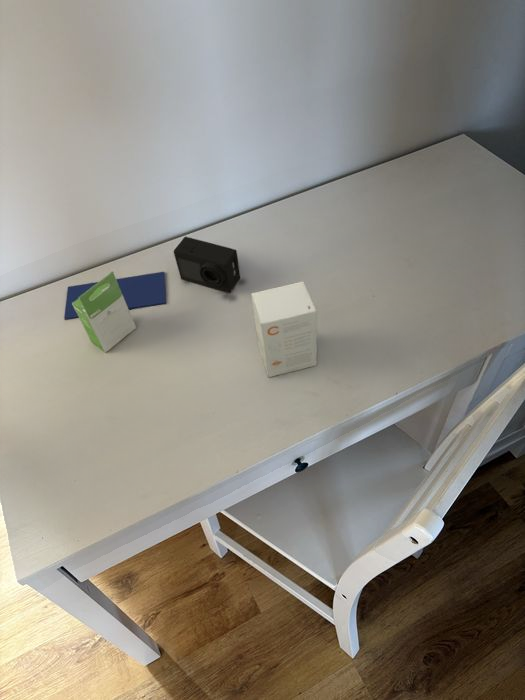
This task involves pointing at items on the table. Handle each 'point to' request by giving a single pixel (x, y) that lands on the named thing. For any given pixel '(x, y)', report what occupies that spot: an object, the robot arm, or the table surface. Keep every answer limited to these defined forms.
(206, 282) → the digital camera
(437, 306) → the table surface
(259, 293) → the small box
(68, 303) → the cloth
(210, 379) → the table surface
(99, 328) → the ink box
